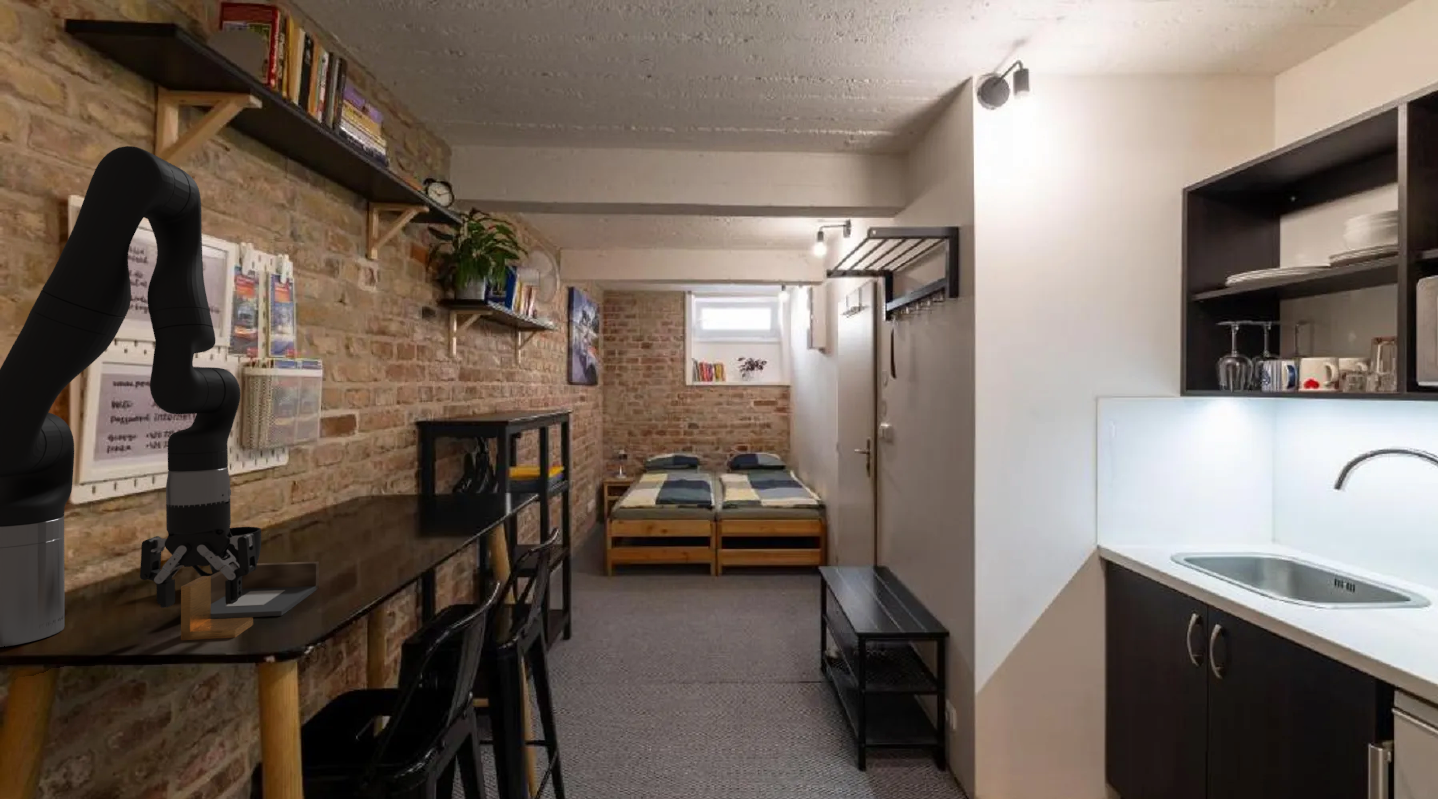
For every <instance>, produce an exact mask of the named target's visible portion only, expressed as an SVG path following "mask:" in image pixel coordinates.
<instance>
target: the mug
mask: <svg viewBox="0 0 1438 799" xmlns="http://www.w3.org/2000/svg"><path fill="white" fill-rule="evenodd" d="M230 533H231V534H232V536H242V535H246V534H248V533H252V534H254V537H255V549H256V562H257V563H259V559H260V554H261V550H262V549H261V548H262V529H261V528H260V527H255V526H237V527H235V526H234V527H230ZM228 550H229V551H230V553H231V554H232V555H233V556H234V557H235V558H236V562H237V563H238V564H239V555H238V550H236V549H235V546H234V545H233V544H232V545H231V546H230V547H229V548H228ZM221 559H222V558H221ZM222 560H223V559H222ZM191 567H192V568H193V570H195V572H197V574H198V575H199V576H200V577H202V576H211V575H213V574H215V573H217V572H219V571H220V570H216V569H215V568H214V567H213V566H212V564H210V565H209V567H210V571H211V573H209V572H206V571H205V570H204V569H202V568H201V566H199V565H194V566H191Z"/></svg>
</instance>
